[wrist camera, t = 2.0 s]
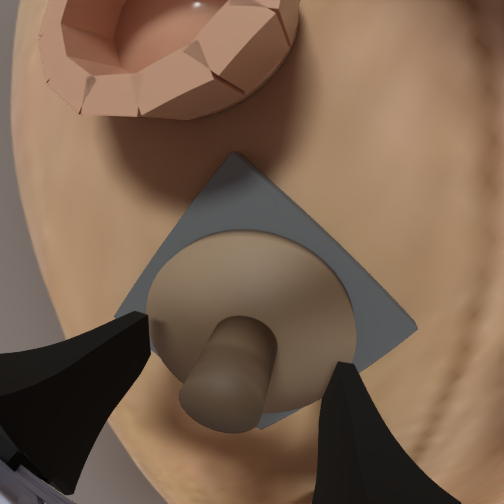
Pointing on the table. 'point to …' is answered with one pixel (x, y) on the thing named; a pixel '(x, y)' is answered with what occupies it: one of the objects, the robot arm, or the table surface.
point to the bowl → (163, 53)
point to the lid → (249, 326)
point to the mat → (290, 226)
